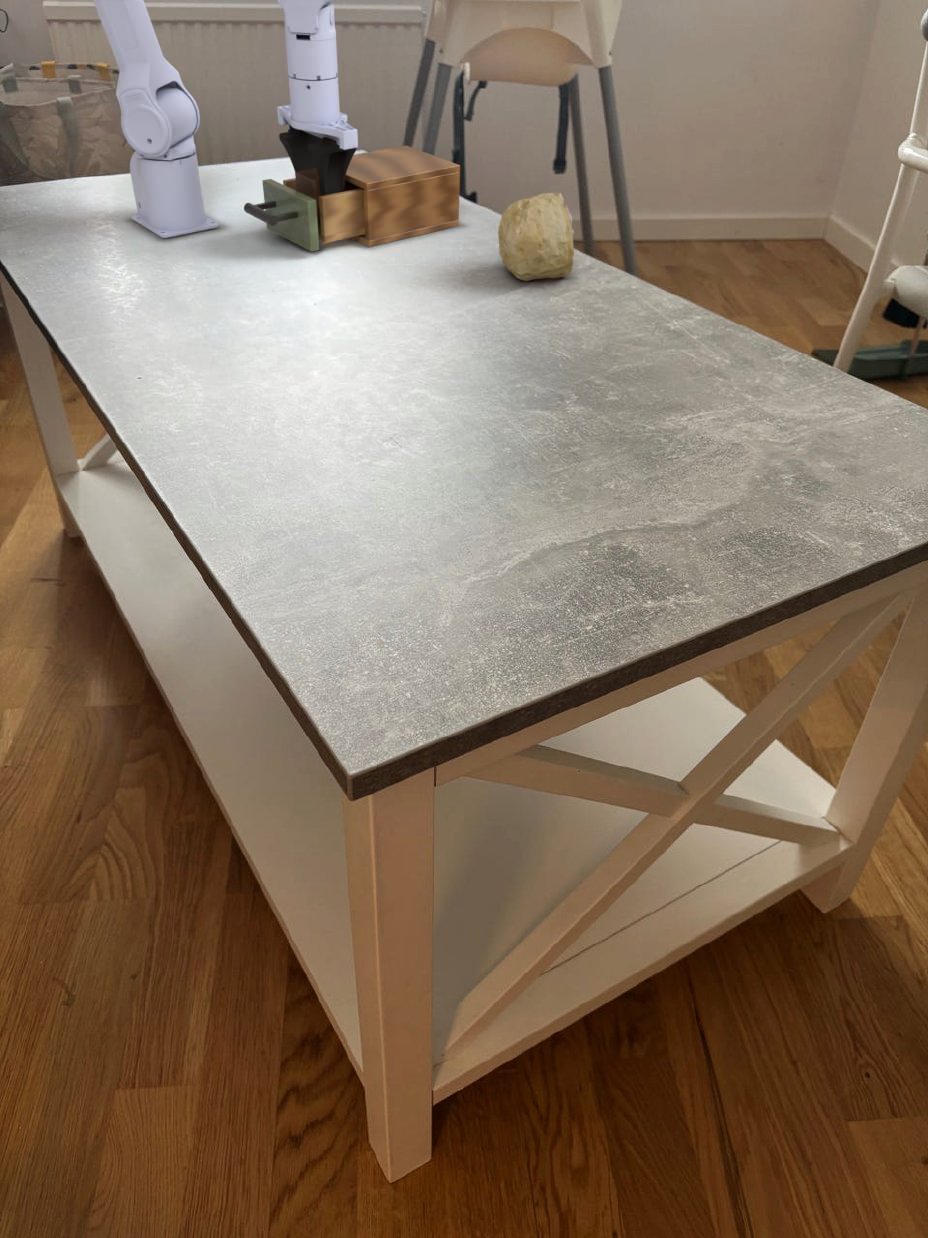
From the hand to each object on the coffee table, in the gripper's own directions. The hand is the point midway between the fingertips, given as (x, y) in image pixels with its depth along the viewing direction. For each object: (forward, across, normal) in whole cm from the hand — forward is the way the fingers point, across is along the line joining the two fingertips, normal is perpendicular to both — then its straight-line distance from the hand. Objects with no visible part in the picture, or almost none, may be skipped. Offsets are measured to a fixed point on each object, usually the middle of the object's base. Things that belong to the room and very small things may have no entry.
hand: (321, 198), depth 119 cm
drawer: (+4, 0, 0) cm, 4 cm away
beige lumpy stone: (+5, -25, -13) cm, 29 cm away
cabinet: (+5, 0, -10) cm, 11 cm away
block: (+1, 0, 0) cm, 1 cm away
